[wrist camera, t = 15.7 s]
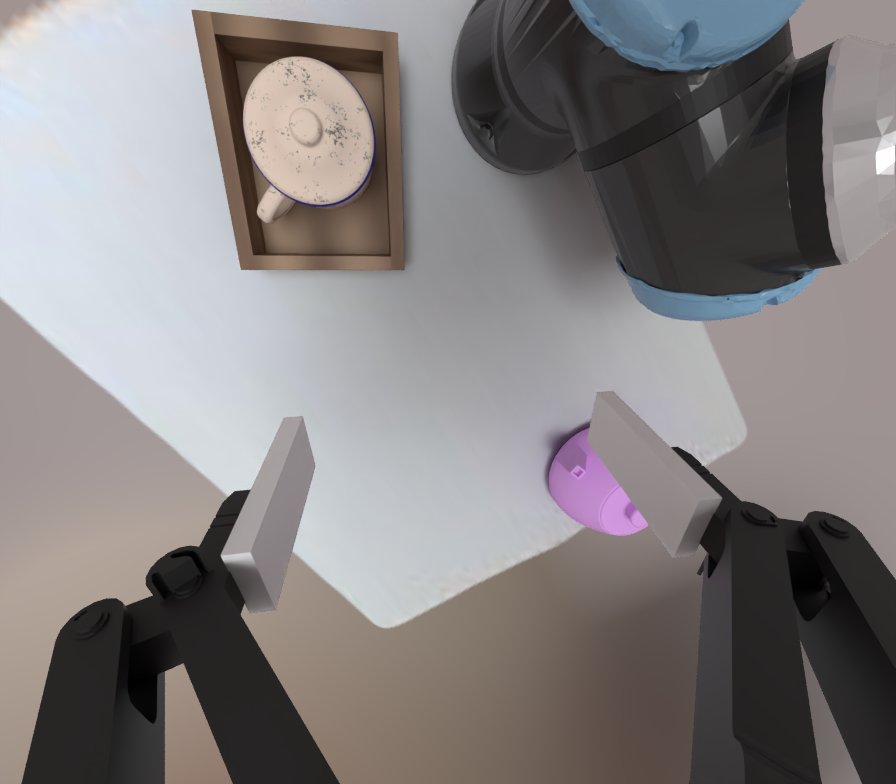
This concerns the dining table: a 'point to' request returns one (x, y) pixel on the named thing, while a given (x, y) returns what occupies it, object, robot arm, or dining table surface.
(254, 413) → the dining table surface
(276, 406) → the dining table surface
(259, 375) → the dining table surface
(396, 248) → the walnut crate
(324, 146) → the teacup with lid
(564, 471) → the teapot
